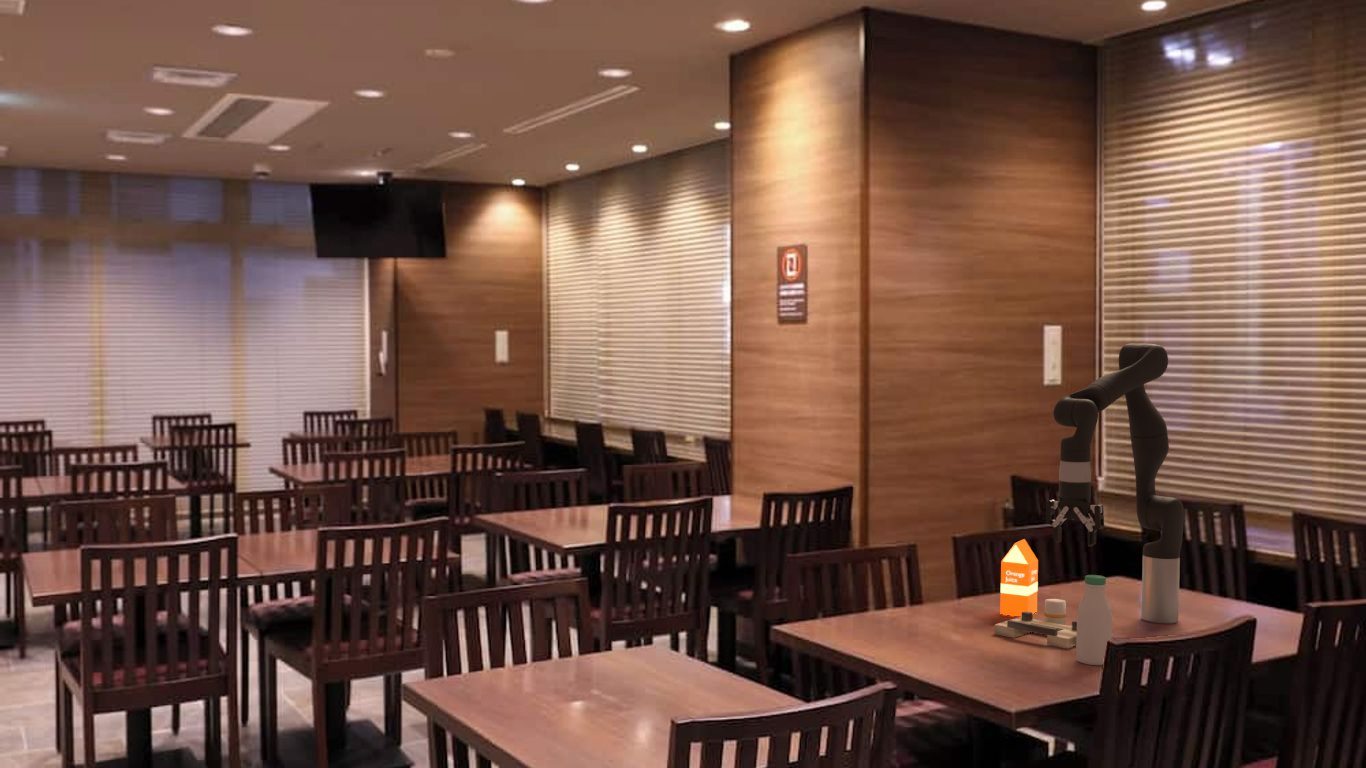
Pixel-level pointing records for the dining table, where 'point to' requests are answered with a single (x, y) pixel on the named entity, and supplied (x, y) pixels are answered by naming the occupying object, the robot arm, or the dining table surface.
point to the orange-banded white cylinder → (1055, 611)
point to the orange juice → (1019, 580)
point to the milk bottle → (1093, 622)
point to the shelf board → (1039, 630)
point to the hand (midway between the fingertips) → (1074, 544)
